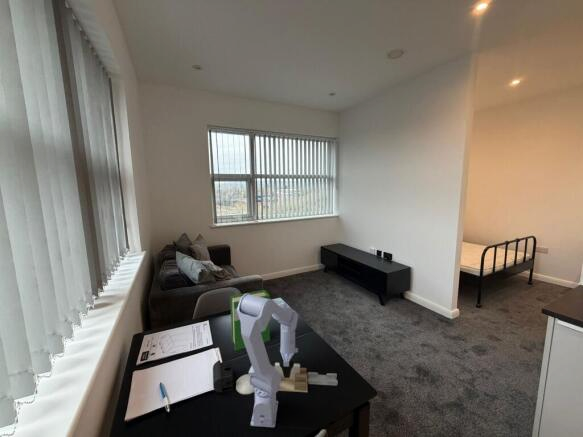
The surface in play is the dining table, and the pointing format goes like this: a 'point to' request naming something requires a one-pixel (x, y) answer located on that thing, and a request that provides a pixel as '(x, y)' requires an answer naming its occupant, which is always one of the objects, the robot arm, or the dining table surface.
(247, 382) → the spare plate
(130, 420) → the dining table surface
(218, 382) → the end cap
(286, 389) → the dish rack
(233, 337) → the hardback book
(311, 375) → the plate stand
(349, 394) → the dining table surface
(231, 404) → the dining table surface
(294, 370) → the white curved panel
